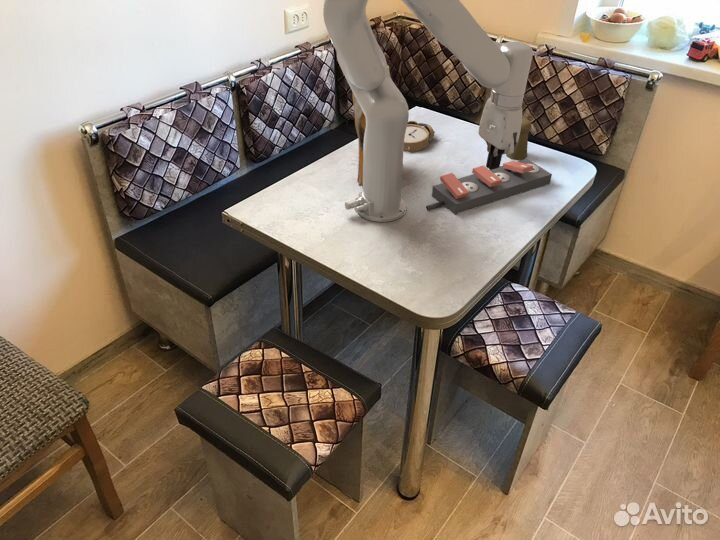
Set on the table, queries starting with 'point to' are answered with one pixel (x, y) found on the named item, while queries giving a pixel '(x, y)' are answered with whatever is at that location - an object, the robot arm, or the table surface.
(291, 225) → the table surface
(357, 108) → the pancake mix bag
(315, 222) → the table surface
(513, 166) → the rocker outlet
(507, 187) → the power strip
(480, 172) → the outlet rocker
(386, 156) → the robot arm
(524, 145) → the cork
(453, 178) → the outlet rocker
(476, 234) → the table surface
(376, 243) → the table surface
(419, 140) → the alarm clock
